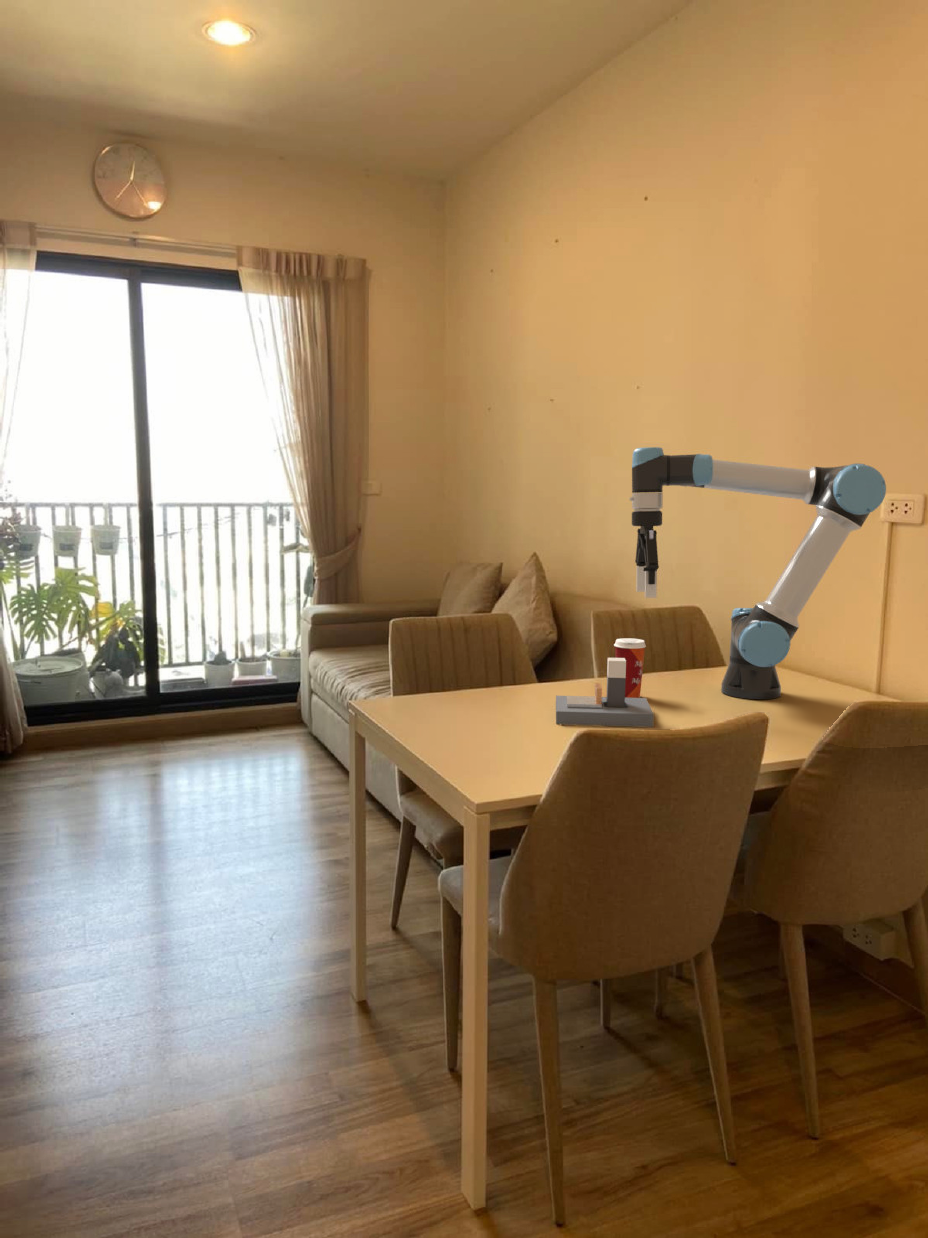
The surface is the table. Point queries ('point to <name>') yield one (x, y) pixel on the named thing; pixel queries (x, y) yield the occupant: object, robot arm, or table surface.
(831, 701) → the table surface
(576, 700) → the light gray plate
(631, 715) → the block
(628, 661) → the coffee cup
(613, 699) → the grey white tall block
